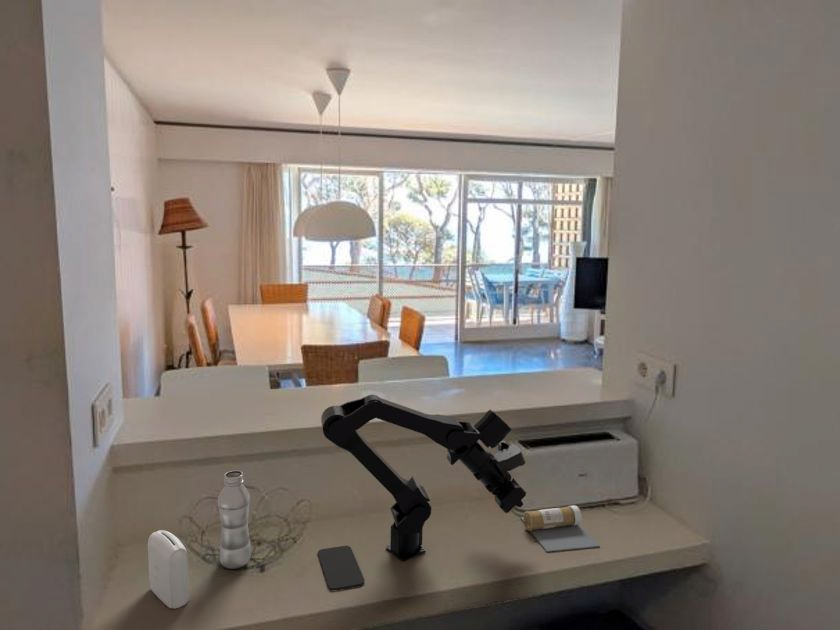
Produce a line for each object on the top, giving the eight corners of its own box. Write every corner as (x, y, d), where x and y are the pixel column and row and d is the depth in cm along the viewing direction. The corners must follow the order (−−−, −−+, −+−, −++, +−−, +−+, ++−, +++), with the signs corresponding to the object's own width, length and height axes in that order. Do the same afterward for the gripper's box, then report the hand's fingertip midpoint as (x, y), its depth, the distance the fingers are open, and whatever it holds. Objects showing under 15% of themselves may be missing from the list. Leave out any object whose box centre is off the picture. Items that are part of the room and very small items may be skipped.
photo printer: (146, 588, 115) (143, 529, 113) (168, 579, 119) (166, 521, 117) (170, 613, 108) (167, 550, 107) (192, 602, 112) (190, 541, 110)
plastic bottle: (257, 558, 127) (256, 469, 124) (240, 576, 120) (238, 483, 117) (231, 553, 128) (229, 465, 125) (212, 570, 122) (210, 478, 119)
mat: (546, 552, 132) (546, 551, 132) (519, 517, 148) (519, 516, 148) (599, 546, 135) (599, 545, 135) (567, 513, 150) (567, 512, 150)
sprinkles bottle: (528, 535, 140) (579, 528, 144) (532, 521, 138) (584, 515, 141) (521, 520, 144) (571, 514, 147) (524, 506, 142) (575, 501, 145)
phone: (349, 544, 132) (366, 582, 118) (349, 548, 133) (366, 586, 119) (316, 549, 130) (329, 589, 116) (316, 553, 130) (329, 593, 116)
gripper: (520, 452, 123) (564, 499, 127) (490, 422, 141) (530, 464, 145) (481, 489, 123) (527, 535, 127) (457, 454, 141) (497, 496, 145)
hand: (521, 505), depth 136 cm, fingers closed
